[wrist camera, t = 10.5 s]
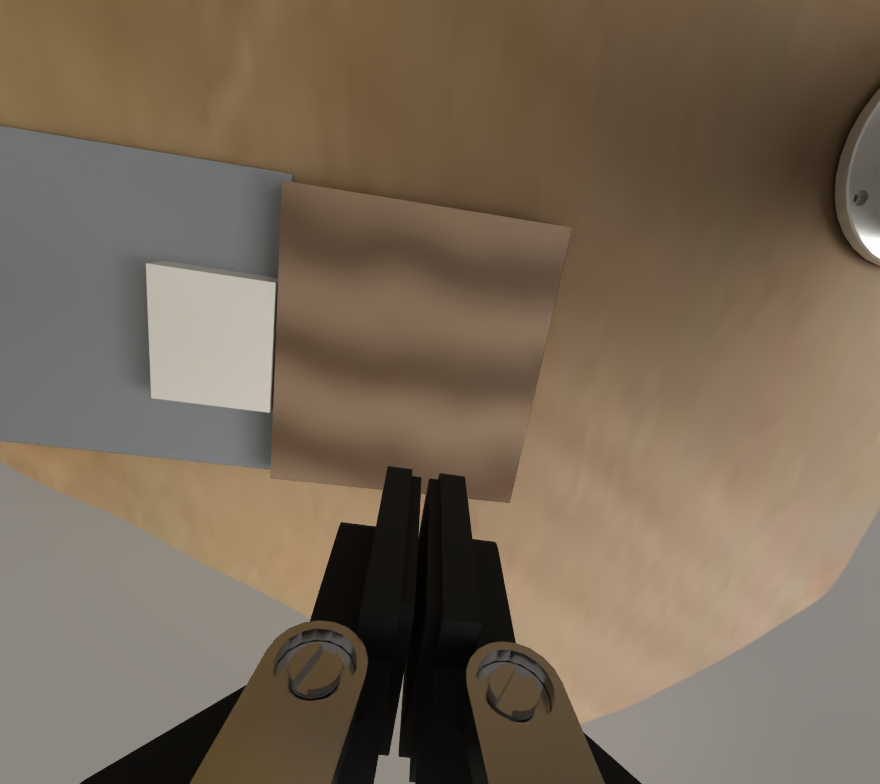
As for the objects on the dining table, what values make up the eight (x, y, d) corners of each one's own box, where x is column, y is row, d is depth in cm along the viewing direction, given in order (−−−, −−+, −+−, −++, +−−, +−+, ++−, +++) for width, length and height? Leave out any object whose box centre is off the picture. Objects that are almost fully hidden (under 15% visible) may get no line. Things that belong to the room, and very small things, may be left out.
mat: (-47, 118, 26) (-55, 116, 25) (293, 174, 28) (291, 173, 27) (4, 437, 32) (-2, 440, 32) (280, 466, 34) (278, 470, 33)
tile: (163, 260, 28) (145, 263, 26) (284, 278, 29) (275, 282, 27) (167, 387, 31) (151, 398, 29) (278, 401, 32) (269, 412, 30)
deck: (293, 183, 28) (282, 180, 25) (559, 227, 29) (572, 227, 27) (280, 460, 34) (270, 478, 31) (503, 484, 35) (509, 503, 33)
